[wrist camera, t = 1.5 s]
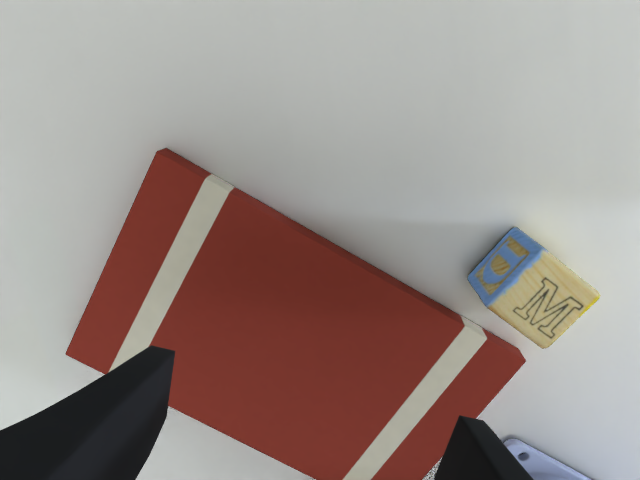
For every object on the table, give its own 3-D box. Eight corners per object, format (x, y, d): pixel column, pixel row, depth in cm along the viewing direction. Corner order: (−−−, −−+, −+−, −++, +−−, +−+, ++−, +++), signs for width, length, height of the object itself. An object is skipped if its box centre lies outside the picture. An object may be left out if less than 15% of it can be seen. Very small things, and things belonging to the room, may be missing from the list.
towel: (519, 348, 21) (527, 360, 20) (388, 500, 25) (389, 517, 24) (166, 147, 19) (156, 150, 18) (76, 343, 23) (64, 355, 22)
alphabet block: (515, 223, 19) (544, 248, 17) (568, 265, 20) (605, 297, 17) (464, 276, 20) (483, 308, 17) (516, 315, 21) (543, 353, 18)
